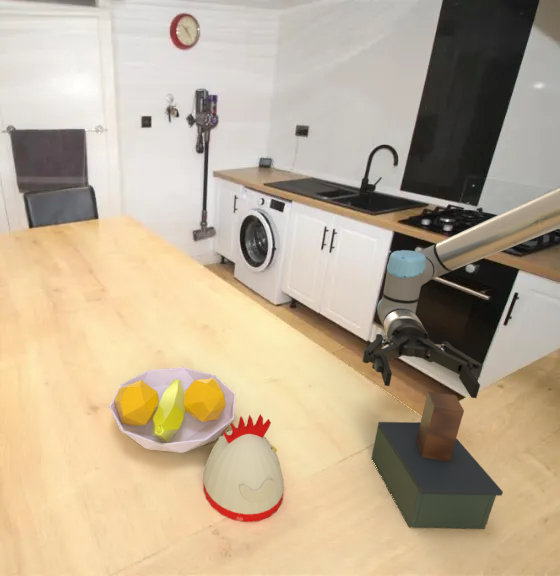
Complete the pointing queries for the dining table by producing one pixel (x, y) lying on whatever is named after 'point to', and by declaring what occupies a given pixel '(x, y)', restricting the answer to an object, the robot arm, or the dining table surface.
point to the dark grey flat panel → (438, 465)
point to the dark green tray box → (428, 496)
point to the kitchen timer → (244, 473)
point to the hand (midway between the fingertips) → (430, 385)
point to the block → (439, 426)
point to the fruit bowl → (173, 408)
